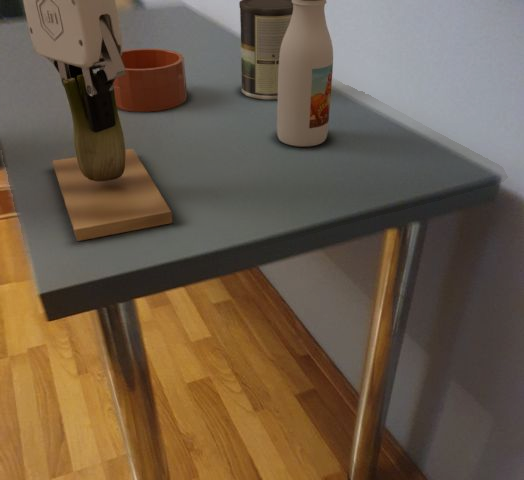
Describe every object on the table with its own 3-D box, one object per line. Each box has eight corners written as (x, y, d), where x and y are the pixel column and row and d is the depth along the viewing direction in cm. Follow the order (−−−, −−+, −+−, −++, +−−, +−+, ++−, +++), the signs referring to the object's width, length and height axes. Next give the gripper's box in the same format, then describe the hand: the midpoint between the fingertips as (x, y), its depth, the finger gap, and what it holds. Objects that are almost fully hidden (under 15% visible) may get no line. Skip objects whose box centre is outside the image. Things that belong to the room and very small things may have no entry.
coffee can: (230, 94, 99) (227, 3, 90) (258, 79, 106) (258, -6, 97) (280, 103, 96) (282, 10, 86) (306, 88, 102) (311, -1, 93)
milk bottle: (290, 151, 80) (296, -11, 67) (268, 133, 85) (270, -20, 72) (336, 143, 82) (351, -15, 69) (312, 126, 88) (321, -24, 74)
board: (54, 171, 74) (51, 160, 73) (134, 158, 78) (132, 148, 77) (77, 241, 61) (74, 229, 60) (172, 223, 64) (171, 211, 63)
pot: (93, 100, 96) (85, 60, 92) (150, 82, 104) (145, 44, 100) (146, 117, 90) (140, 75, 86) (202, 97, 98) (200, 57, 94)
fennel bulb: (128, 167, 70) (111, 65, 62) (131, 184, 66) (114, 78, 58) (82, 172, 69) (58, 69, 61) (82, 189, 65) (58, 81, 57)
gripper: (-28, -77, 53) (26, 119, 65) (77, -66, 45) (115, 153, 58) (39, -81, 57) (78, 103, 69) (144, -72, 50) (167, 132, 62)
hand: (95, 124), depth 63 cm, fingers closed on fennel bulb
